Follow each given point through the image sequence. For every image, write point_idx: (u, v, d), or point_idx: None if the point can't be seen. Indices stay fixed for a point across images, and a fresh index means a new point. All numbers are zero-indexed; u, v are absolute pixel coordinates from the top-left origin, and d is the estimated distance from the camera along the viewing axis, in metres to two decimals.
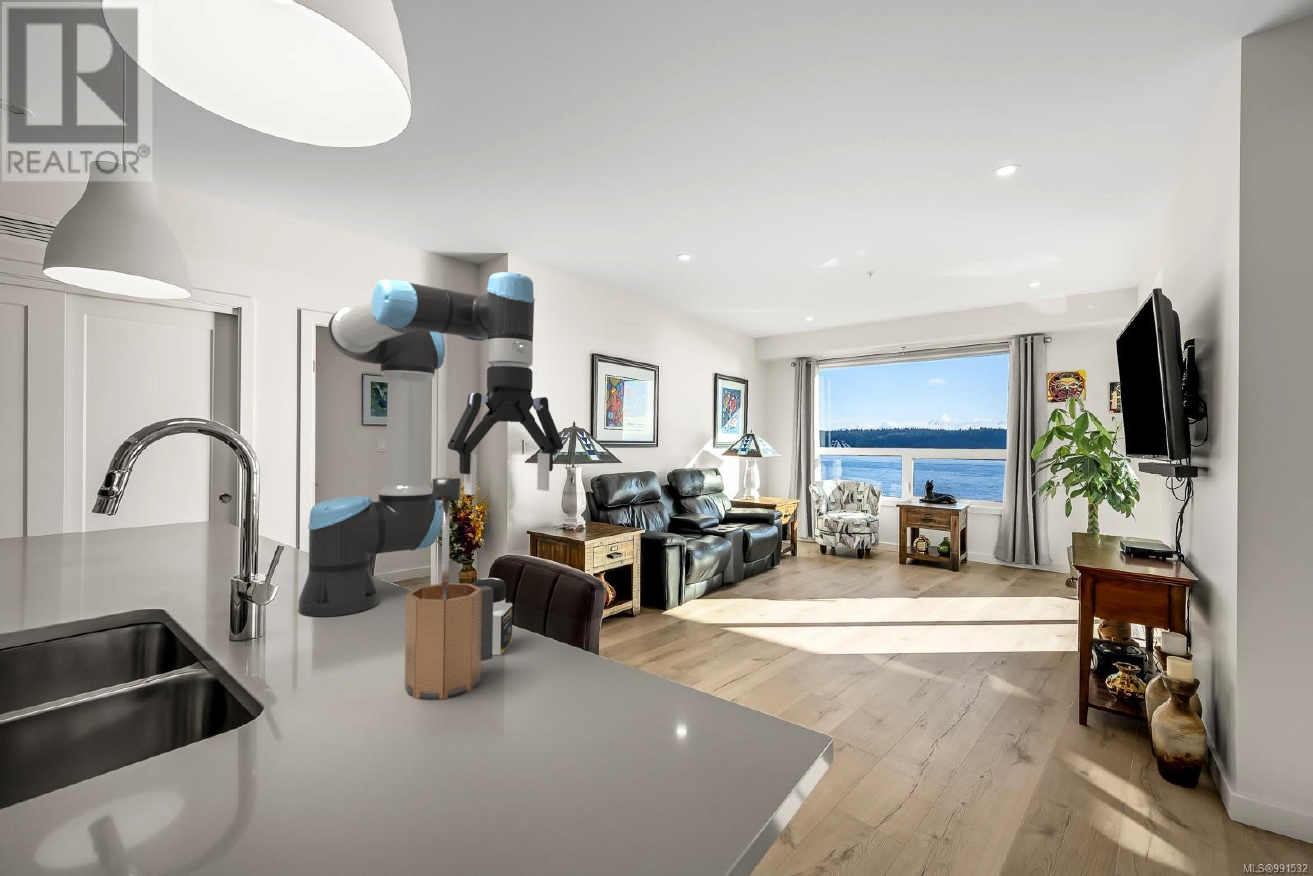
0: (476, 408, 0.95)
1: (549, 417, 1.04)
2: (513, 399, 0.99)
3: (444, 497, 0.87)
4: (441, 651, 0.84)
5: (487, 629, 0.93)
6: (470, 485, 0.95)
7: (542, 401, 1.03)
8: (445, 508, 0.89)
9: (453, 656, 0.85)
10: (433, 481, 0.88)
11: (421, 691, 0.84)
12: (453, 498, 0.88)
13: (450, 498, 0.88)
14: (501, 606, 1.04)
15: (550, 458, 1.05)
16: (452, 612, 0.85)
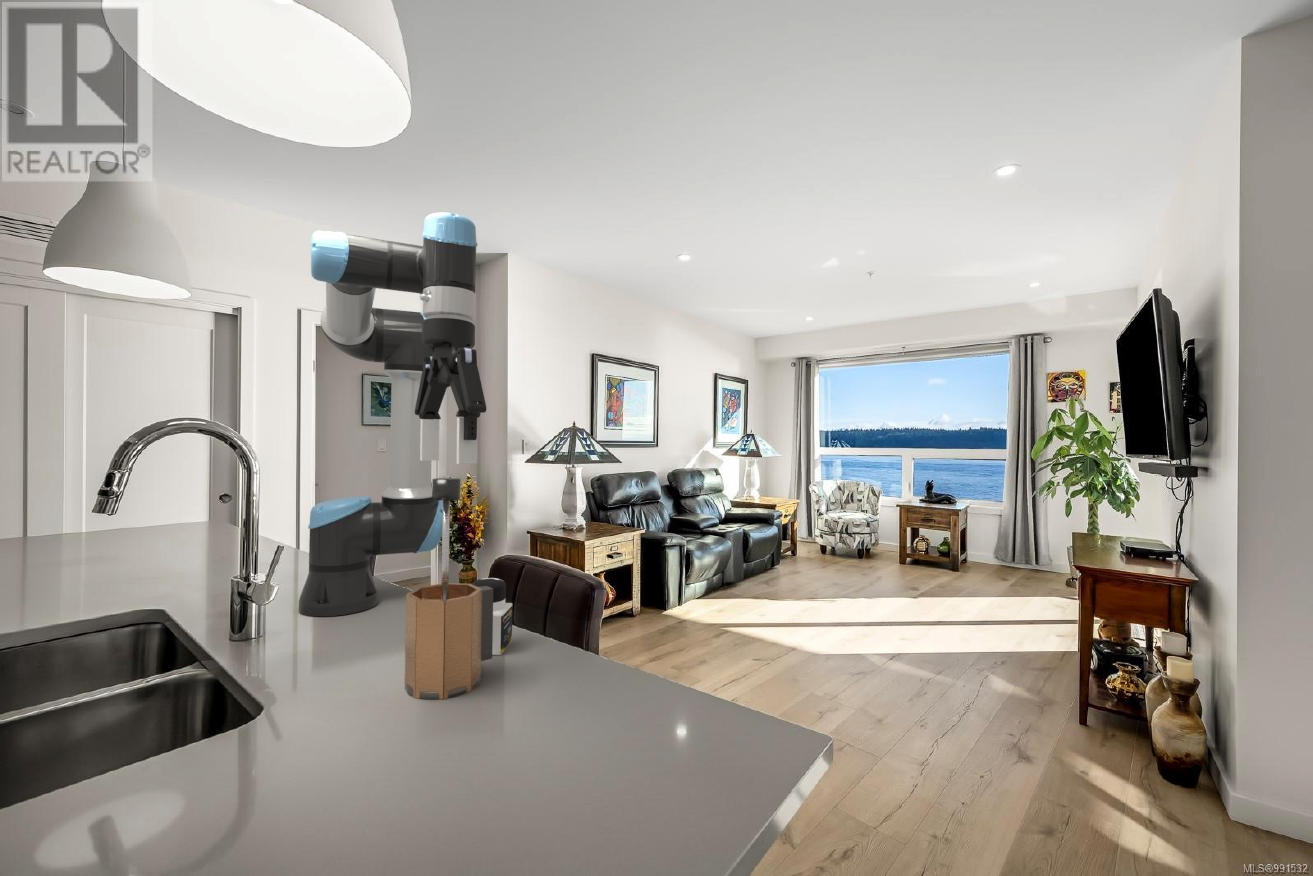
0: (423, 372, 0.93)
1: (461, 371, 0.83)
2: (441, 356, 0.88)
3: (444, 497, 0.87)
4: (441, 651, 0.84)
5: (487, 629, 0.93)
6: None
7: (457, 353, 0.84)
8: (445, 508, 0.89)
9: (453, 656, 0.85)
10: (433, 481, 0.88)
11: (421, 691, 0.84)
12: (453, 498, 0.88)
13: (450, 498, 0.88)
14: (501, 606, 1.04)
15: (465, 423, 0.83)
16: (452, 612, 0.85)
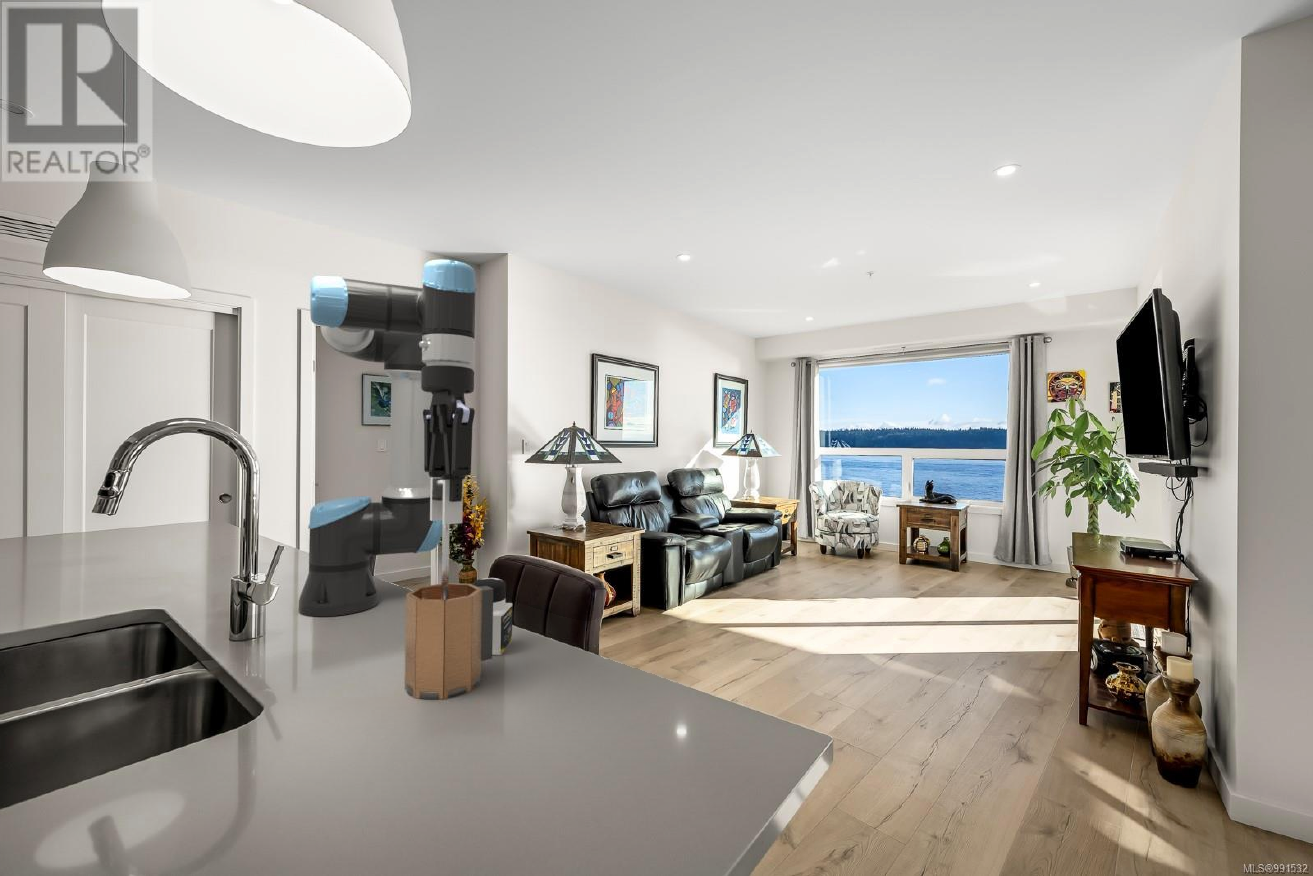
0: (425, 424, 0.92)
1: (454, 432, 0.84)
2: (442, 393, 0.88)
3: None
4: (441, 651, 0.84)
5: (487, 629, 0.93)
6: None
7: None
8: None
9: (453, 656, 0.85)
10: (433, 481, 0.88)
11: (421, 691, 0.84)
12: None
13: None
14: (501, 606, 1.04)
15: (451, 486, 0.86)
16: (452, 612, 0.85)
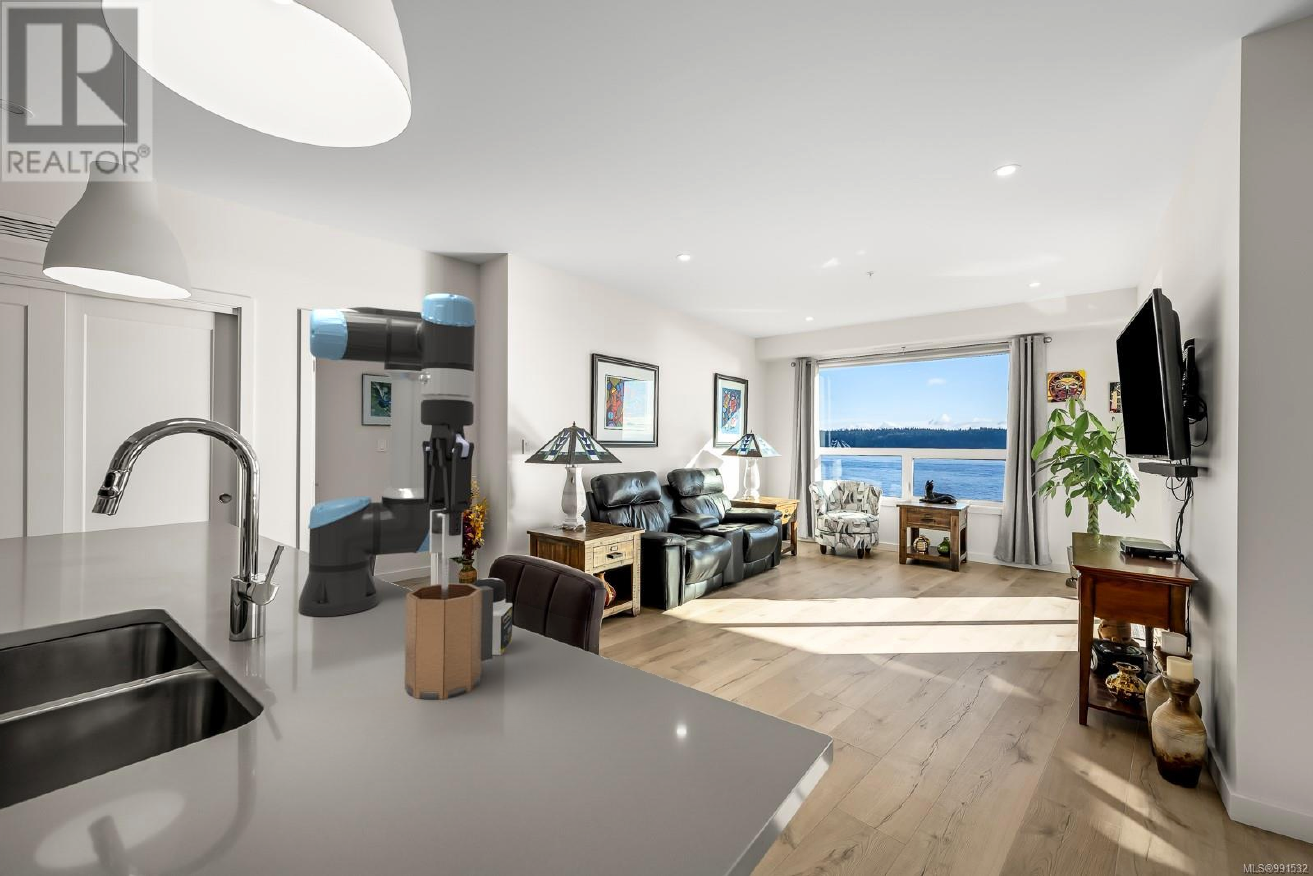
0: (425, 456, 0.92)
1: (454, 467, 0.84)
2: (441, 426, 0.88)
3: None
4: (441, 651, 0.84)
5: (487, 629, 0.93)
6: (431, 543, 0.90)
7: (455, 446, 0.84)
8: None
9: (453, 656, 0.85)
10: (433, 514, 0.88)
11: (421, 691, 0.84)
12: None
13: None
14: (501, 606, 1.04)
15: (450, 520, 0.86)
16: (452, 612, 0.85)
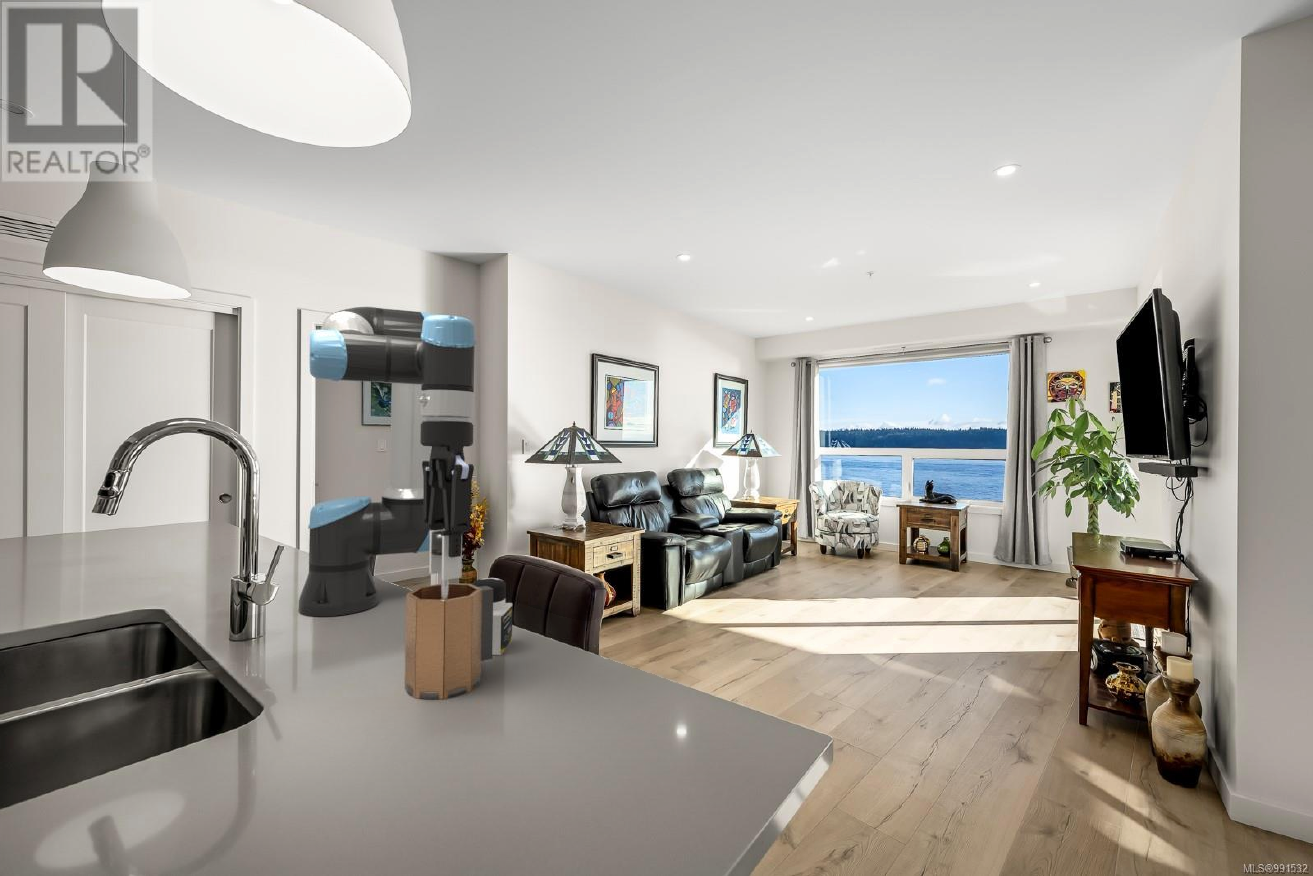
0: (424, 476, 0.92)
1: (453, 489, 0.84)
2: (441, 447, 0.88)
3: None
4: (441, 651, 0.84)
5: (487, 629, 0.93)
6: None
7: None
8: None
9: (453, 656, 0.85)
10: (432, 536, 0.88)
11: (421, 691, 0.84)
12: None
13: None
14: (501, 606, 1.04)
15: (450, 541, 0.86)
16: (452, 612, 0.85)
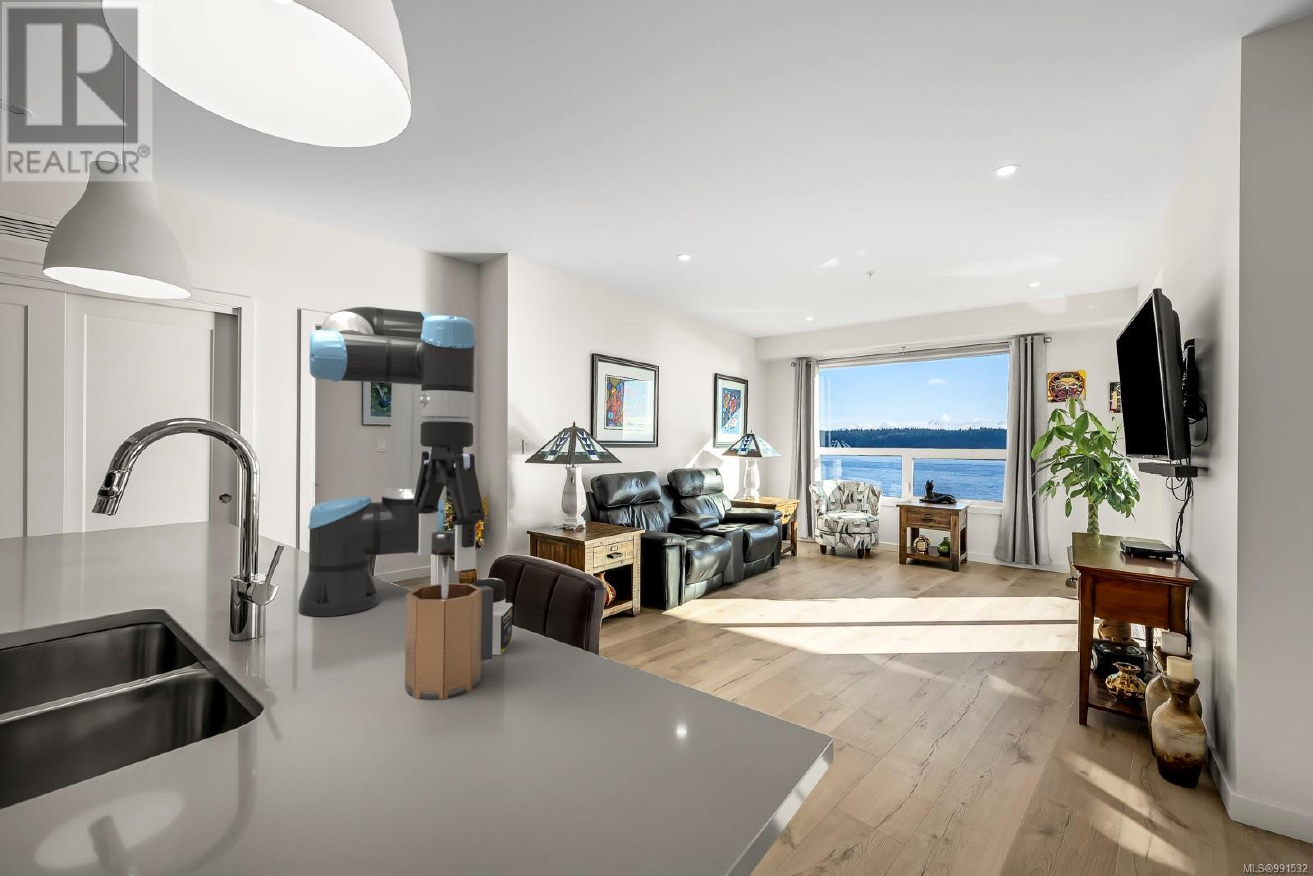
0: (422, 467, 0.93)
1: (459, 479, 0.83)
2: (439, 457, 0.88)
3: (443, 552, 0.87)
4: (441, 651, 0.84)
5: (487, 629, 0.93)
6: None
7: None
8: (444, 562, 0.89)
9: (453, 656, 0.85)
10: (432, 536, 0.88)
11: (421, 691, 0.84)
12: (452, 553, 0.88)
13: (449, 553, 0.88)
14: (501, 606, 1.04)
15: (463, 531, 0.83)
16: (452, 612, 0.85)
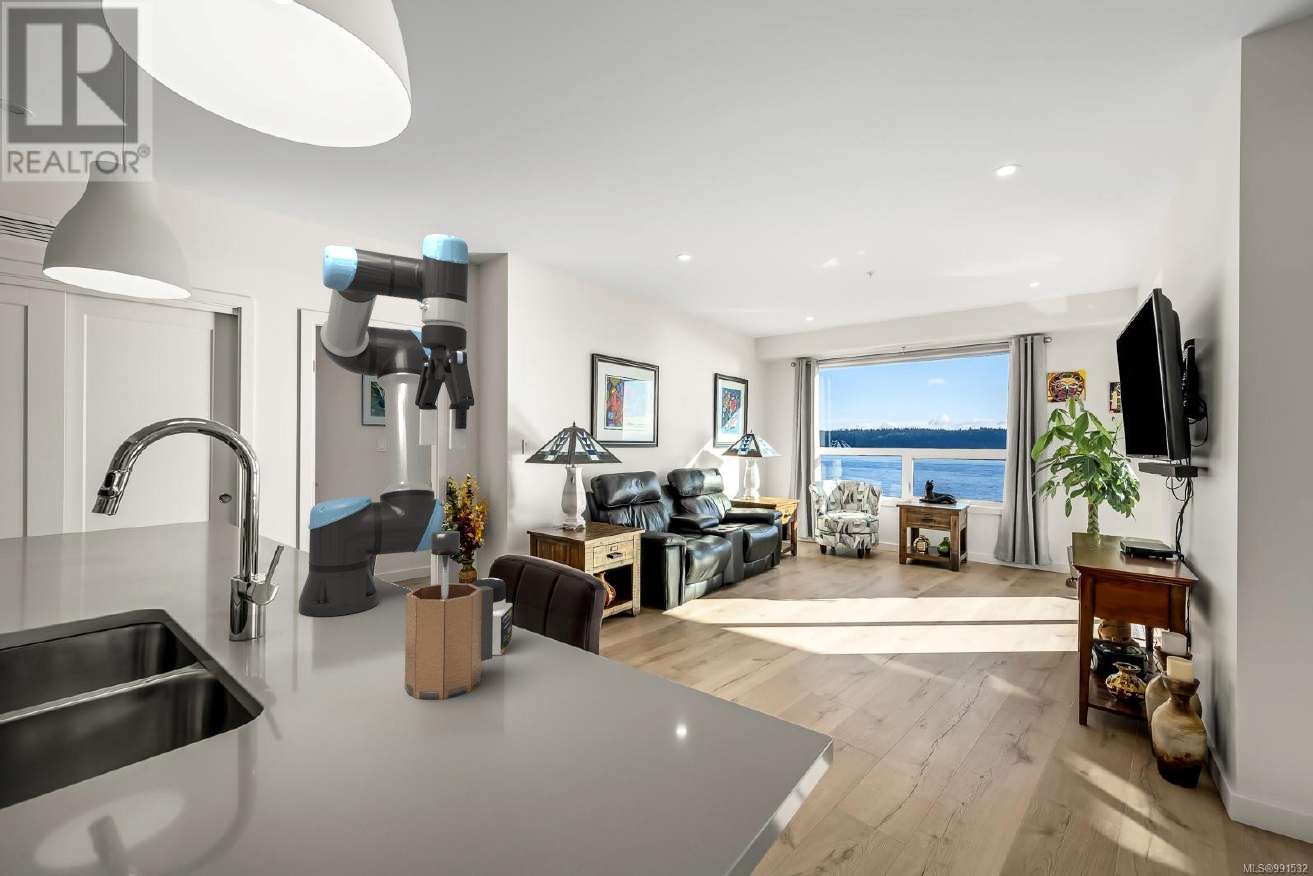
0: (422, 369, 1.09)
1: (453, 371, 0.98)
2: (437, 357, 1.04)
3: (443, 552, 0.87)
4: (441, 651, 0.84)
5: (487, 629, 0.93)
6: None
7: (451, 355, 0.99)
8: (444, 562, 0.89)
9: (453, 656, 0.85)
10: (432, 536, 0.88)
11: (421, 691, 0.84)
12: (452, 553, 0.88)
13: (449, 553, 0.88)
14: (501, 606, 1.04)
15: (457, 415, 0.98)
16: (452, 612, 0.85)
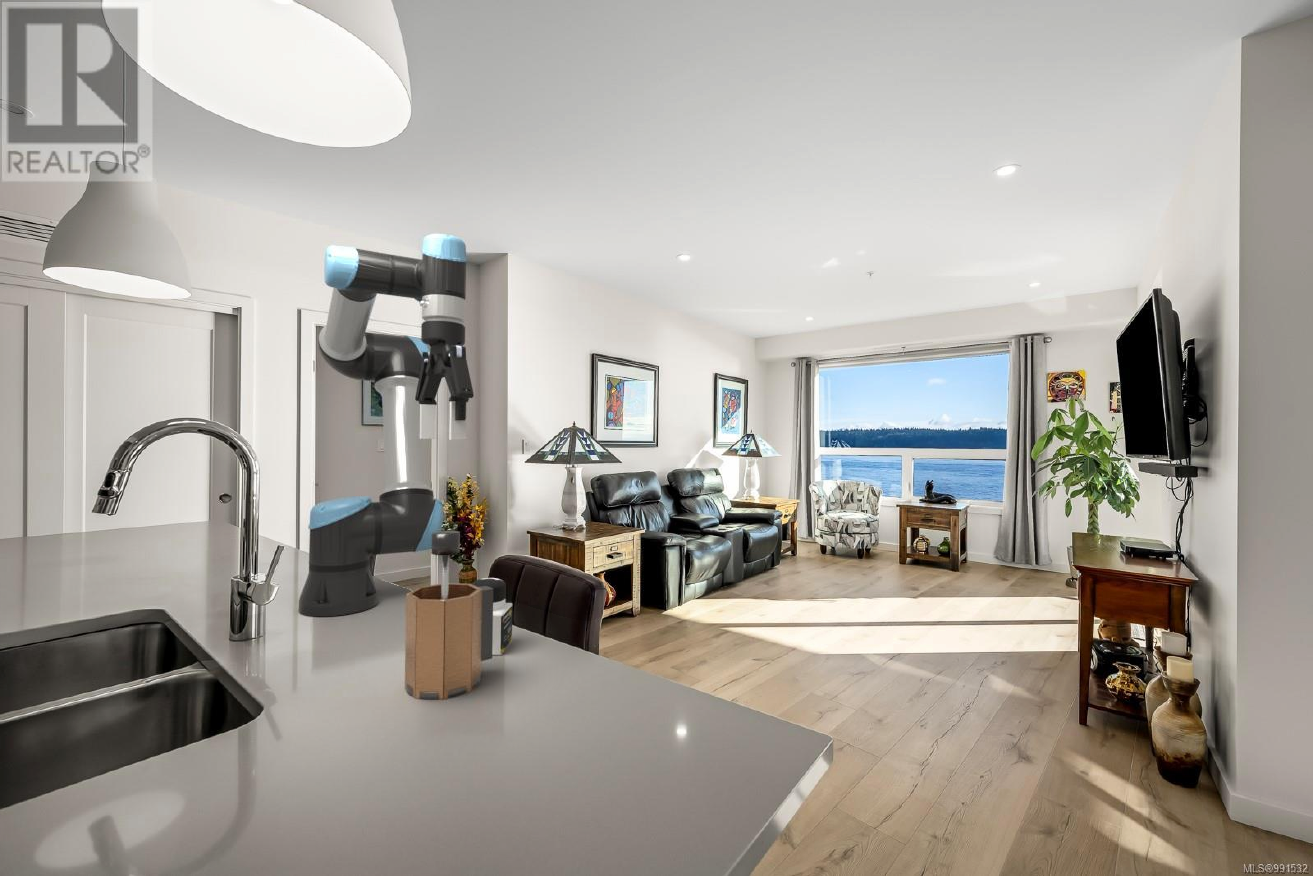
0: (422, 365, 1.12)
1: (453, 364, 1.02)
2: (437, 352, 1.07)
3: (443, 552, 0.87)
4: (441, 651, 0.84)
5: (487, 629, 0.93)
6: None
7: (450, 349, 1.03)
8: (444, 562, 0.89)
9: (453, 656, 0.85)
10: (432, 536, 0.88)
11: (421, 691, 0.84)
12: (452, 553, 0.88)
13: (449, 553, 0.88)
14: (501, 606, 1.04)
15: (456, 407, 1.02)
16: (452, 612, 0.85)
